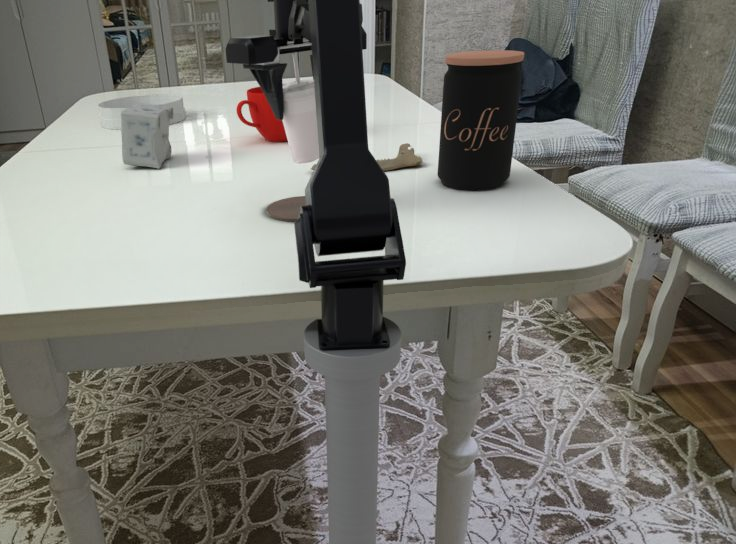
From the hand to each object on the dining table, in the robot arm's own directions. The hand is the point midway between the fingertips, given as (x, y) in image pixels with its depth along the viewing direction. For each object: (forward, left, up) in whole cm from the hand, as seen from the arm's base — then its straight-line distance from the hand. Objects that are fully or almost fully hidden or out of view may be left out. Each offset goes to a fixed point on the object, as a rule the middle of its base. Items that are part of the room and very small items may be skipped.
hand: (301, 115), depth 85 cm
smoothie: (+1, 0, -6) cm, 6 cm away
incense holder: (+35, +29, -13) cm, 47 cm away
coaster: (0, 0, -13) cm, 13 cm away
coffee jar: (+10, -26, -13) cm, 31 cm away
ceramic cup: (+50, +6, -13) cm, 52 cm away
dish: (+84, +41, -13) cm, 94 cm away
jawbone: (+25, -11, -13) cm, 30 cm away
